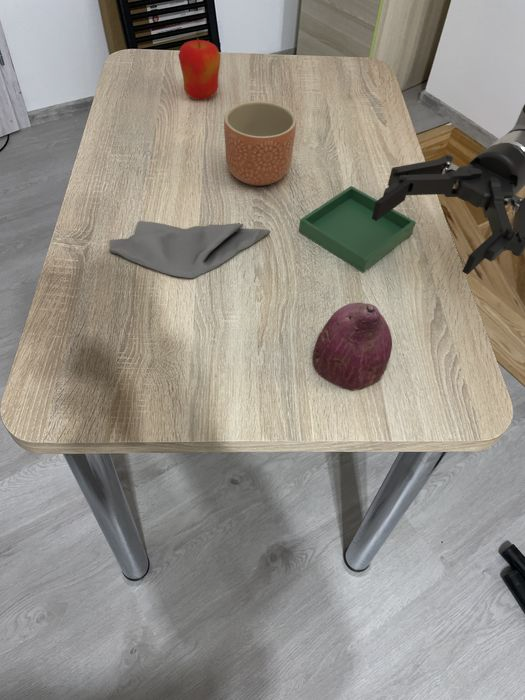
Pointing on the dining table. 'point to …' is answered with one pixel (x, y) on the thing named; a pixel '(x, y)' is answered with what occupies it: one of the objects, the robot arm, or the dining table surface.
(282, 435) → the dining table surface
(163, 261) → the cloth
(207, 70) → the apple
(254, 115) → the planter
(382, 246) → the green tray
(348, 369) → the vegetable
